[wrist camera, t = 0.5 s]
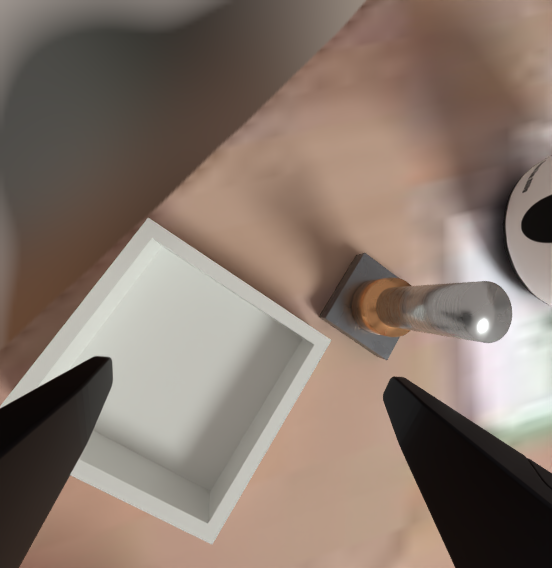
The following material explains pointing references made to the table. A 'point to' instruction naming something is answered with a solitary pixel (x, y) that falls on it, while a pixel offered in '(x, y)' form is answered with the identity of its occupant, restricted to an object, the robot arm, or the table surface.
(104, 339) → the bin
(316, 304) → the table surface
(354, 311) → the knob
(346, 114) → the table surface
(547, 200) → the milk container
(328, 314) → the stud plate
